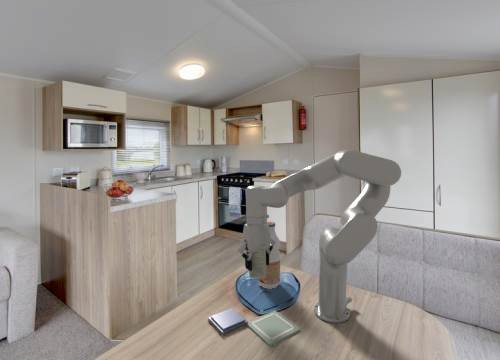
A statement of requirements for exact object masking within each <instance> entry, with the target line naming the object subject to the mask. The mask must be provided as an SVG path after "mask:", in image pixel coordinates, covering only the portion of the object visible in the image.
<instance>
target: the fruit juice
mask: <svg viewBox="0 0 500 360" xmlns="http://www.w3.org/2000/svg"><path fill="white" fill-rule="evenodd" d="M267 222H268V224H269V228H270V238H271V239H272V240H274V241H275V244H274V246H273V249H272V250H271V254H270V255H269V265H266V278H258V286H262V287H264V288H270V289H269V290H273V289H272V288H275V289H277V288H278V287H277V286H278V285H279V284H280V283H281V253H280V246H281V241H280V239H279V237H278V235H277V233H276V229H275V228H276V223H275V222H274V221H267ZM279 286H280V285H279ZM262 287H261V288H262ZM276 287H277V288H276ZM264 288H263V289H264Z"/></svg>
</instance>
